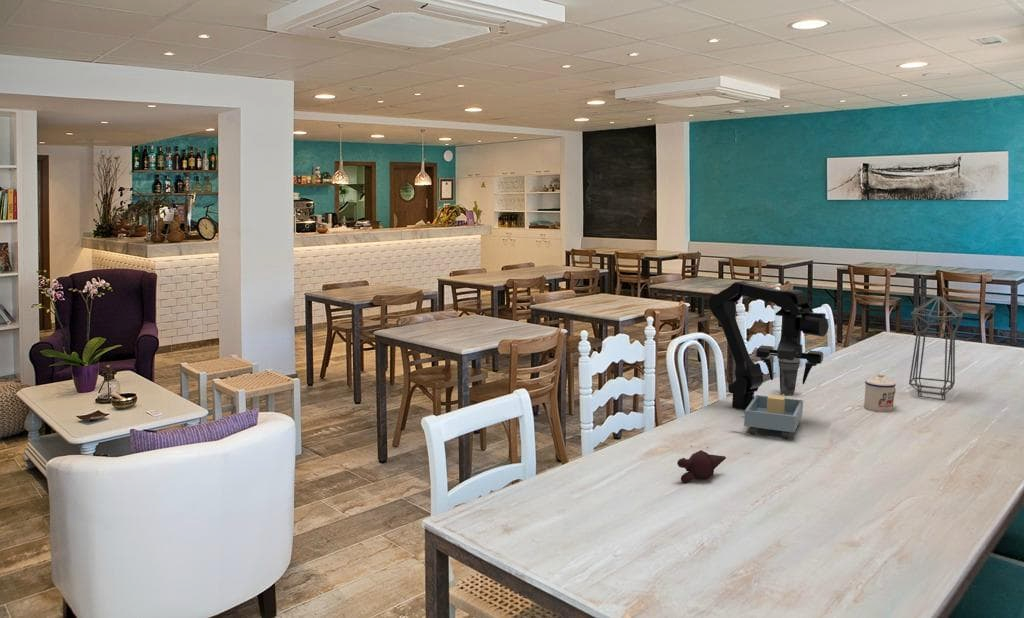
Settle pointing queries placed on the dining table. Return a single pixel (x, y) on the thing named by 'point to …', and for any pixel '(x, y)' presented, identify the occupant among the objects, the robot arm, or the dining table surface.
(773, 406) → the ochre block
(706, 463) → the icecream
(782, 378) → the beverage cup
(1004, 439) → the dining table surface
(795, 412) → the box
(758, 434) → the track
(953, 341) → the geometric lantern
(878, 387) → the teacup with lid
